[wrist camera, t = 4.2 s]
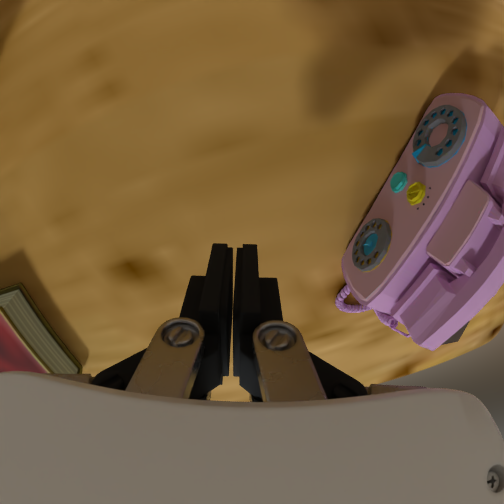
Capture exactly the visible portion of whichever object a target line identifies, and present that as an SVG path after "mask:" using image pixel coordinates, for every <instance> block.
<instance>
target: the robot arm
mask: <svg viewBox="0 0 504 504" xmlns="http://www.w3.org/2000/svg"><path fill="white" fill-rule="evenodd" d="M232 312H233V375H234V376H239V377H240V386H241V387H243V388H244V389H245V390H246V391H248V392H249V393H250V402H230V401H210V398H211V390H213V389H214V388H215V387H217V386H218V385H222V381H223V376H229V362H230V344H231V328H232ZM0 504H504V440H503V438H502V436H501V433H500V431H499V429H498V427H497V425H496V423H495V422H494V420H493V418H492V416H491V415H490V413H489V411H488V410H487V409H486V407H485V406H484V405H483V403H482V402H481V401H480V400H479V399H478V398H477V397H475V396H473V395H472V394H469V393H466V392H463V391H459V390H452V389H445V388H426V387H421V386H420V387H419V386H394V385H378V384H371V385H370V387H364V386H363V385H362V384H361V383H360V382H359V381H357V380H356V379H354V378H352V377H350V376H349V375H347V374H345V373H344V372H342V371H340V370H339V369H337V368H335V367H334V366H332V365H330V364H329V363H327V362H325V361H324V360H322V359H320V358H319V357H317V356H315V355H314V354H312V353H311V352H309V351H308V349H307V347H306V345H305V342H304V340H303V337H302V335H301V333H300V331H299V330H298V329H297V328H296V327H295V326H294V325H292V324H290V323H288V322H284V321H283V317H282V310H281V303H280V296H279V289H278V282H277V278H259V273H258V255H257V245H255V244H243V248H237V257H236V272H235V287H234V302H233V248H229V247H228V246H227V244H216V243H213V246H212V250H211V255H210V259H209V264H208V268H207V273H206V276H191V278H190V281H189V285H188V288H187V291H186V295H185V299H184V302H183V306H182V309H181V313H180V317H179V318H173V319H170V320H168V321H166V322H164V323H163V324H161V326H160V327H159V328H158V330H157V331H156V333H155V335H154V337H153V339H152V341H151V342H150V344H149V346H148V348H146V349H144V350H142V351H140V352H138V353H136V354H134V355H133V356H131V357H129V358H127V359H125V360H123V361H121V362H119V363H117V364H115V365H113V366H111V367H109V368H107V369H105V370H103V371H102V372H100V373H99V374H97V375H96V376H95V377H92V376H91V374H58V373H42V374H41V373H34V372H26V371H9V372H1V373H0Z"/></svg>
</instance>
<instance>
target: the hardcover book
mask: <svg viewBox="0 0 504 504" xmlns="http://www.w3.org/2000/svg"><path fill="white" fill-rule="evenodd" d="M9 371H26V372H34V373H41V374H42V373H58V374H82V366H81V365H80V364H79V363H78V361H77V360H76V359H75V358H74V357H73V355H72V354H71V353H70V352H69V351H68V349H67V348H66V347H65V346H64V344H63V343H62V342H61V340H60V339H59V338H58V337H57V335H56V334H55V333H54V331H53V330H52V328H51V327H50V326H49V324H48V323H47V322H46V320H45V319H44V317H43V316H42V314H41V313H40V312H39V310H38V309H37V307H36V306H35V304H34V303H33V301H32V300H31V298H30V296H29V295H28V293H27V292H26V290H25V288H24V287H23V285H22V284H21V283H19V284H16V285H13V286H10V287H7V288H4V289H1V290H0V373H1V372H9Z"/></svg>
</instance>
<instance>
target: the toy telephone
mask: <svg viewBox="0 0 504 504" xmlns="http://www.w3.org/2000/svg"><path fill="white" fill-rule="evenodd" d="M342 271H343V275H344V278H345V281H346V283H347V285H346V286H344V288H343V289H341V291H340V293H339V294H338V295H337V297H336V301H335V304H336V306H337V308H339V310H342V311H344V312H347V313H348V312H349V313H352V312H353V313H356V312H364V311H368V310H371V309H372V308H373V309H374V312H375V313H376V315H377V316H378V318H379V319H380V321H381V322H382V323H384V324H385V325H388V326H389V327H391V329H392V330H394V331H396V332H398V333H400V334H402V335H404V336H406V337H410V336H411V338H412V339H413V341H414V342H415V343H416V344H418V345H419V346H421V347H424V348H427V349H429V350H432V351H434V350H435V349H436V348H437V347H439V346H440V345H441V344H442V343H444V342H445V341H446V340H447V339H449V338H450V337H451V336H452V335H453V334H455V333H456V332H457V331H458V330H459V329H460V328H462V327H463V326H464V325H465V324H466V323H467V322H468V321H469V320H471V319H472V318H473V317H474V316H475V315H476V314H477V313H478V312H479V311H480V310H481V309H482V308H483V307H484V305H485V304H486V303H487V302H488V301H489V300H490V299H491V298H492V297H494V296H495V294H496V293H497V291H498V289H499V288H500V287H501V285H502V284H503V283H504V127H503V125H502V124H501V123H500V121H499V120H498V119H497V117H496V116H495V115H494V113H493V112H492V111H491V110H490V108H489V107H488V106H487V105H486V103H485V102H484V101H483V100H482V99H479V98H477V97H475V96H473V95H468V94H463V93H447V94H441V95H439V96H437V97H435V98H434V100H433V101H432V103H431V104H430V106H429V107H428V109H427V110H426V112H425V114H424V116H423V118H422V120H421V121H420V123H419V125H418V127H417V129H416V131H415V132H414V134H413V136H412V138H411V140H410V141H409V143H408V145H407V147H406V149H405V150H404V152H403V154H402V155H401V157H400V159H399V161H398V162H397V164H396V166H395V167H394V169H393V171H392V173H391V174H390V176H389V178H388V179H387V181H386V183H385V185H384V187H383V188H382V190H381V192H380V194H379V195H378V197H377V199H376V201H375V202H374V204H373V206H372V207H371V209H370V211H369V213H368V214H367V216H366V218H365V219H364V221H363V223H362V224H361V226H360V227H359V229H358V231H357V232H356V234H355V236H354V237H353V239H352V240H351V242H350V244H349V246H348V248H347V250H346V252H345V254H344V256H343V258H342ZM343 291H344V292H345V293H346V294H349V293H350V292H351V293H352V294H353V296H354V297H355V299H356V300H357V301H358V302H359V303H360V305H359V307H358V305H352V306H351V305H348V304H345V303H344V302H343V301H344V298H346V297H347V295H346V294H345V293H344V292H343ZM340 295H341V296H340ZM362 305H363V309H362ZM340 306H341V307H340ZM398 321H399V322H400V323H402V324H404V325H405V326H406V328H407V330H408V332H409V334H408V335H407V334H405V333H403V332H401V331H399V330H397V329H395V328H396V326H397V325H398ZM390 323H391V324H390ZM394 323H395V324H394Z"/></svg>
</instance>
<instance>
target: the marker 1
mask: <svg viewBox="0 0 504 504" xmlns="http://www.w3.org/2000/svg"><path fill="white" fill-rule="evenodd" d="M468 323H469V321H468V322H467V323H466V324H465V325H464V326H463V327H462V328H460V329H459V330H458V331H457V332H456V333H455V334H453V335H452V336H451V337H450V338H449V339H447V340H446V341H445V342H444V343H442V344H441V345H443V344H448V343H453V342H457V341H458V340H459V339H460V337H461V335H462V334H463V332H464V330H465V328H466V327H467V325H468Z"/></svg>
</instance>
